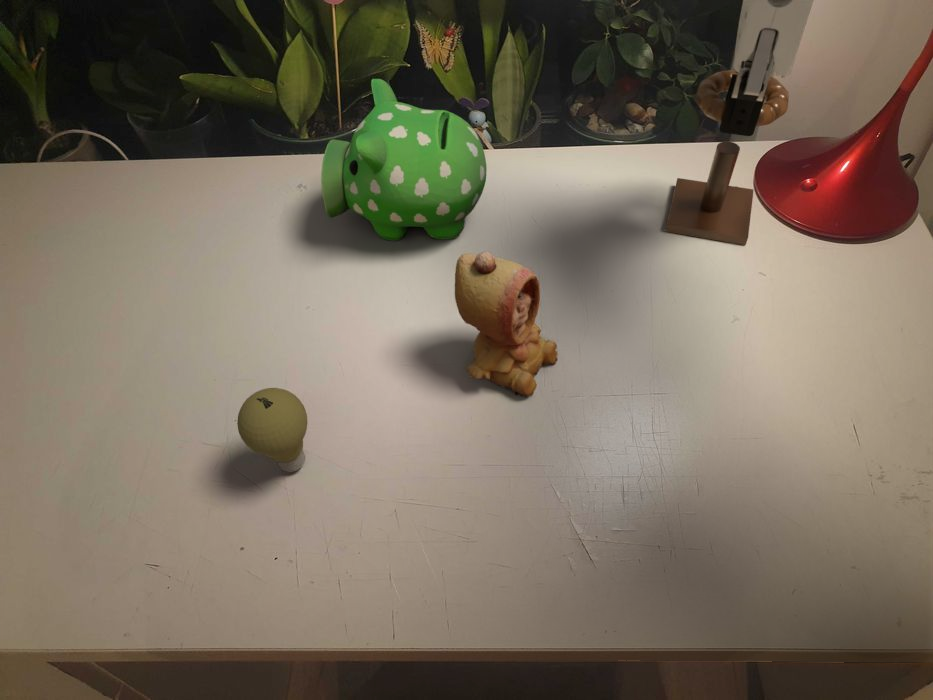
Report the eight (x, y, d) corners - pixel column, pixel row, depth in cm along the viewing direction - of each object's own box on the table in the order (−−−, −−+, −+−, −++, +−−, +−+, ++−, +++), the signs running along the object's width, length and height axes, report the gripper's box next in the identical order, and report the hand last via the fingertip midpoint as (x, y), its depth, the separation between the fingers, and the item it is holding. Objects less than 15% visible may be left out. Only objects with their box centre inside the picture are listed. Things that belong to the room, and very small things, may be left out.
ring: (787, 90, 69) (793, 71, 68) (782, 137, 64) (788, 118, 62) (700, 79, 71) (705, 61, 70) (689, 123, 66) (693, 105, 65)
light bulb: (333, 442, 62) (307, 378, 54) (312, 496, 58) (282, 436, 50) (278, 433, 63) (244, 369, 55) (254, 485, 59) (215, 426, 51)
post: (751, 197, 80) (774, 130, 73) (745, 245, 75) (769, 178, 68) (675, 185, 82) (690, 119, 75) (664, 231, 77) (680, 165, 70)
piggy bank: (351, 184, 86) (325, 75, 75) (489, 181, 85) (485, 70, 73) (332, 259, 77) (300, 149, 66) (487, 257, 76) (482, 144, 64)
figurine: (528, 415, 62) (491, 297, 52) (462, 396, 66) (417, 283, 56) (571, 343, 67) (545, 223, 57) (508, 329, 71) (474, 215, 61)
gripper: (854, -41, 46) (772, 178, 60) (850, -119, 55) (780, 86, 70) (741, -49, 48) (688, 165, 62) (756, -123, 57) (707, 77, 71)
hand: (737, 122), depth 66 cm, fingers closed on ring, 2 cm apart
